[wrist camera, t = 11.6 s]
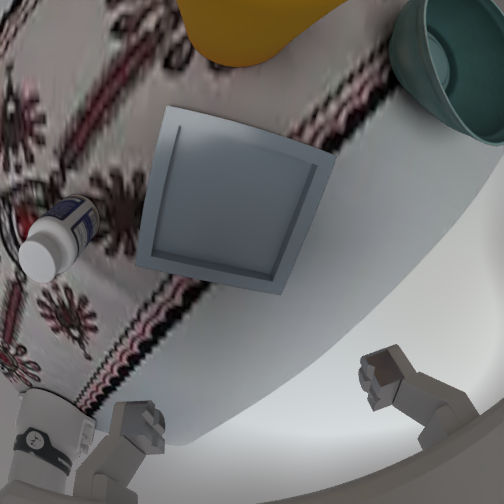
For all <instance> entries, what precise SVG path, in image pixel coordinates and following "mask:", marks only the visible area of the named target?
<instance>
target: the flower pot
mask: <svg viewBox="0 0 504 504" xmlns="http://www.w3.org/2000/svg"><path fill="white" fill-rule="evenodd" d="M389 59H390V63H391V67H392V69H393V72H394V74H395V76H396V77H397V79H398V81H399V82H400V84H401V85H402V86H403V87H404V88H405V89H406V90H407V91H408V92H409V93H410V94H412V95H413V97H414V98H415V99H416V100H417V101H418V102H419V103H420V104H421V105H422V106H423V107H424V108H425V109H426V110H427V111H428V112H429V113H431V114H432V115H433V116H434V117H436V118H437V119H438V120H440V121H441V122H443V123H444V124H446V125H447V126H449V127H451V128H453V129H455V130H457V131H459V132H461V133H463V134H466V135H468V136H471V137H472V138H474V139H476V140H478V141H480V142H482V143H484V144H487V145H491V146H500V145H504V14H503V12H502V11H501V10H500V8H499V7H498V6H497V5H496V4H495V2H494V1H493V0H409V1H408V2H407V3H406V5H405V6H404V7H403V9H402V10H401V12H400V14H399V15H398V18H397V20H396V23H395V26H394V30H393V35H392V36H391V39H390V42H389Z"/></svg>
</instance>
